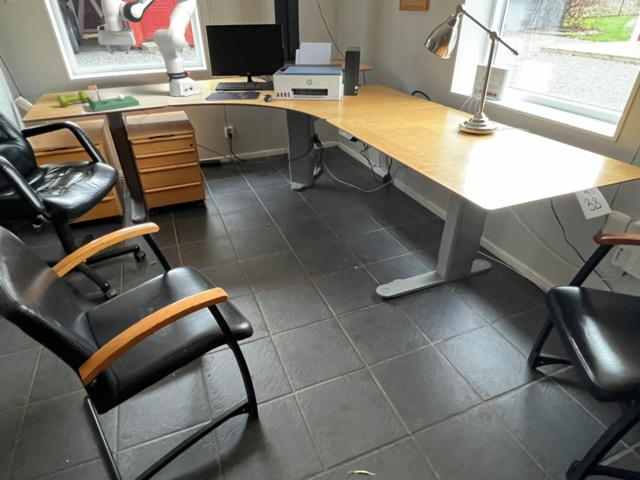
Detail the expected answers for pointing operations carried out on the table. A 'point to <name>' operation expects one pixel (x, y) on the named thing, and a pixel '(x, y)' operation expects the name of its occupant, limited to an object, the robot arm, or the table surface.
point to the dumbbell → (72, 99)
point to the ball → (120, 97)
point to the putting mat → (110, 102)
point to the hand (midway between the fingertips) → (119, 53)
